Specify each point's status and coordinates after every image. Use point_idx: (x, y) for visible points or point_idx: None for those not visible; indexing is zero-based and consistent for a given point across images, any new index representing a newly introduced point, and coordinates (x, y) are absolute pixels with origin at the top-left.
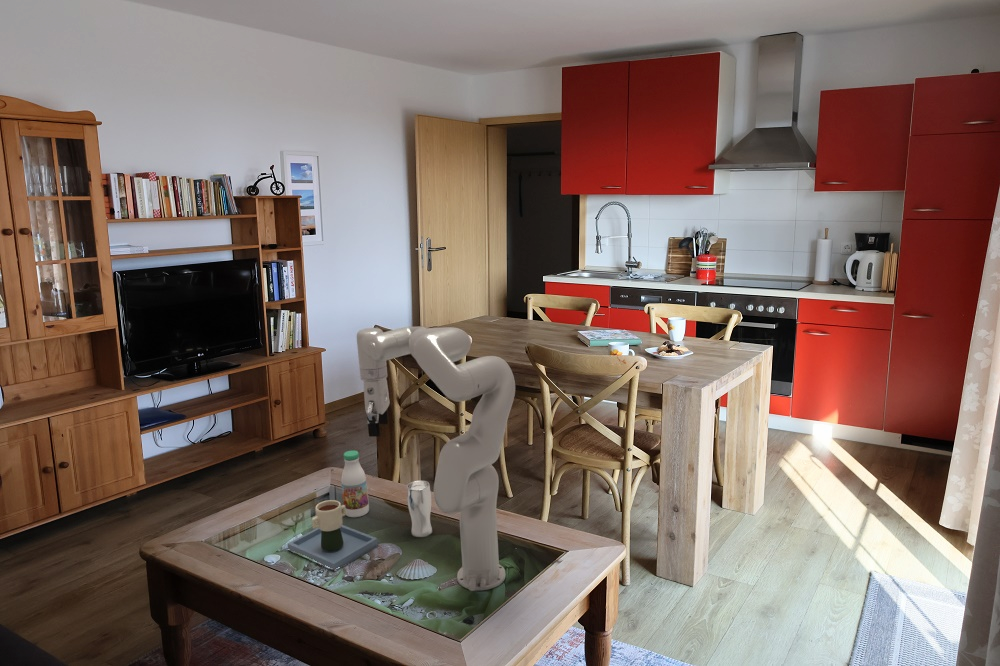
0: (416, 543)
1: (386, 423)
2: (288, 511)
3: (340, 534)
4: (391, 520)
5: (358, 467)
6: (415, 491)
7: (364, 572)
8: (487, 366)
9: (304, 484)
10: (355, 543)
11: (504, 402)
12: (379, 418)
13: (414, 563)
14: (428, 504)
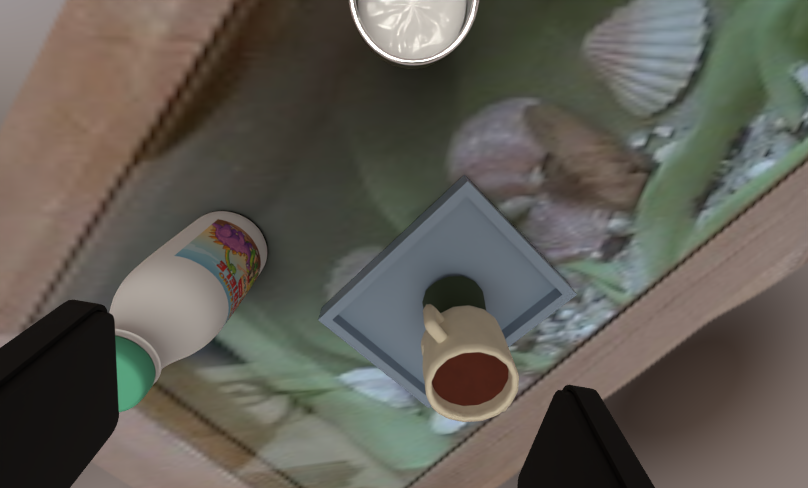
0: (482, 45)
1: (109, 321)
2: (209, 417)
3: (467, 297)
4: (301, 134)
5: (159, 312)
6: (475, 15)
7: (600, 208)
8: None
9: None
10: (446, 241)
11: None
12: (60, 467)
13: (609, 56)
14: None
